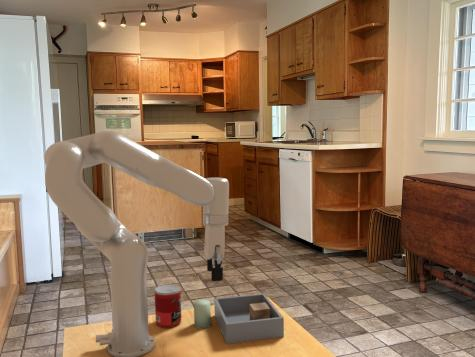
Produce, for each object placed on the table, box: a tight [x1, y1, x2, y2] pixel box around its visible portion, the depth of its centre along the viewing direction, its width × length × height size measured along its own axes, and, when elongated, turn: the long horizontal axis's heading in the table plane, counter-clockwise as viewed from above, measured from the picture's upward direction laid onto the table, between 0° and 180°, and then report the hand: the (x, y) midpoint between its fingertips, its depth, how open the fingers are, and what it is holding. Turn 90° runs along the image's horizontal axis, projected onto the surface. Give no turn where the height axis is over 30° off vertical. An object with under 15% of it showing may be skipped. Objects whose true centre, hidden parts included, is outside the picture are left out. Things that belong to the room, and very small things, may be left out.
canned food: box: [154, 283, 182, 329], centre depth 134 cm, size 8×8×11 cm
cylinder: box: [193, 299, 212, 329], centre depth 133 cm, size 5×5×7 cm
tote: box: [213, 293, 285, 345], centre depth 132 cm, size 17×20×6 cm
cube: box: [250, 302, 270, 320], centre depth 132 cm, size 5×5×5 cm
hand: (214, 275), depth 131 cm, fingers open, 9 cm apart
